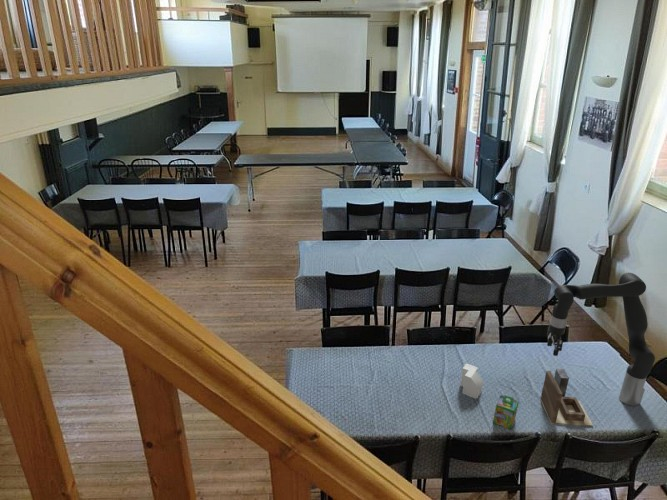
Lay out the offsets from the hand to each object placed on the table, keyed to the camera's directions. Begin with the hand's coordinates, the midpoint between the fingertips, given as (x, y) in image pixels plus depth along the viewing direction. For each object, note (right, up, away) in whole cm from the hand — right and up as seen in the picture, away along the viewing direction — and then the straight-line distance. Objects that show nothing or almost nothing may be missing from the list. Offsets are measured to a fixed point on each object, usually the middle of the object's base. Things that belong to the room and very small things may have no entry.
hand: (552, 350), depth 251 cm
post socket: (+5, -32, -1) cm, 32 cm away
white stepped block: (-38, -25, +16) cm, 48 cm away
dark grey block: (+10, -25, +14) cm, 31 cm away
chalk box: (-27, -35, -7) cm, 44 cm away
